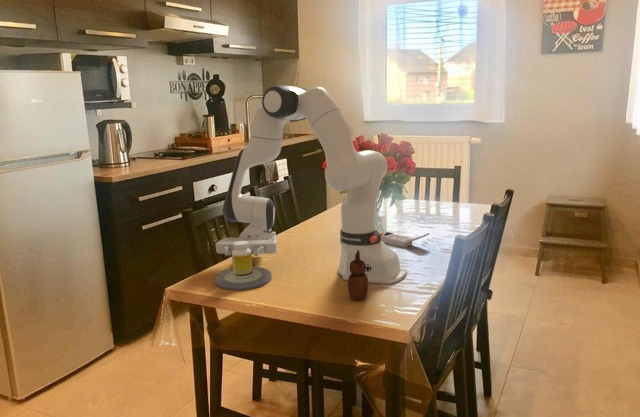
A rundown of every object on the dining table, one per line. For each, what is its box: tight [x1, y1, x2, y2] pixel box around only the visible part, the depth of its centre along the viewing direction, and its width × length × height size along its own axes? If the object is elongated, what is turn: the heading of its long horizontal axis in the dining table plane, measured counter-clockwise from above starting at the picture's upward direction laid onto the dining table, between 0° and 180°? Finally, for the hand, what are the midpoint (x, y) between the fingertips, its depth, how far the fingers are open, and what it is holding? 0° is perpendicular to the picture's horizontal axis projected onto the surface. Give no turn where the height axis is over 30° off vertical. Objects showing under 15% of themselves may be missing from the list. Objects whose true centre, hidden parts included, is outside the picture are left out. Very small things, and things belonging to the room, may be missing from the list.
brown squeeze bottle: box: [347, 250, 369, 301], centre depth 151 cm, size 7×6×15 cm
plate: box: [214, 266, 272, 291], centre depth 171 cm, size 18×18×1 cm
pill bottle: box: [231, 241, 253, 279], centre depth 170 cm, size 6×6×11 cm
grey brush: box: [381, 231, 430, 248], centre depth 202 cm, size 6×6×25 cm
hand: (241, 253), depth 169 cm, fingers open, 8 cm apart
